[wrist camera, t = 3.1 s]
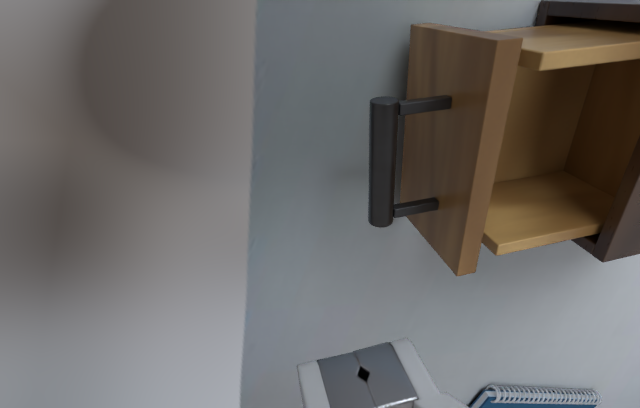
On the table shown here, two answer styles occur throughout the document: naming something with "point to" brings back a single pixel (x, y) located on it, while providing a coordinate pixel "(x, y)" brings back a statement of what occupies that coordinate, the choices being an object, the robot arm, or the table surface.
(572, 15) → the wooden drawer box
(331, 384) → the robot arm
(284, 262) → the table surface
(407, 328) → the table surface
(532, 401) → the sketchbook
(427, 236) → the wooden pull-out drawer
